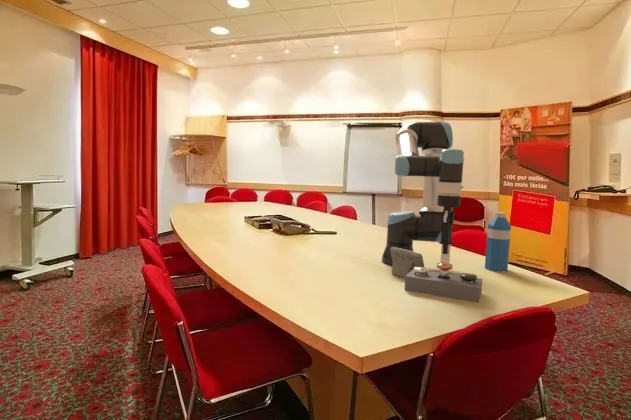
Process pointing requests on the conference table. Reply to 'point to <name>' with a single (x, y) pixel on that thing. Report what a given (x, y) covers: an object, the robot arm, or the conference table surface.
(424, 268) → the plunger ivory
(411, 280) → the panel
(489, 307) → the conference table surface
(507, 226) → the water bottle
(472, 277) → the plunger black
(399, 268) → the digital clock
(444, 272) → the plunger terracotta
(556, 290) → the conference table surface
